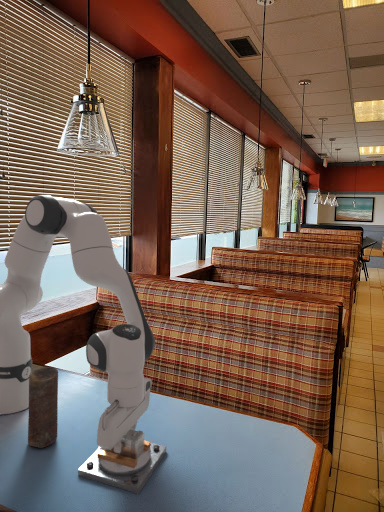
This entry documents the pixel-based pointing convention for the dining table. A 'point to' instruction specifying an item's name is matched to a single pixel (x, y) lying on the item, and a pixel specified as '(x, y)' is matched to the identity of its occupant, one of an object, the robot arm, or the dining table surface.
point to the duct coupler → (131, 444)
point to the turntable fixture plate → (123, 467)
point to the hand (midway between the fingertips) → (124, 444)
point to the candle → (43, 407)
